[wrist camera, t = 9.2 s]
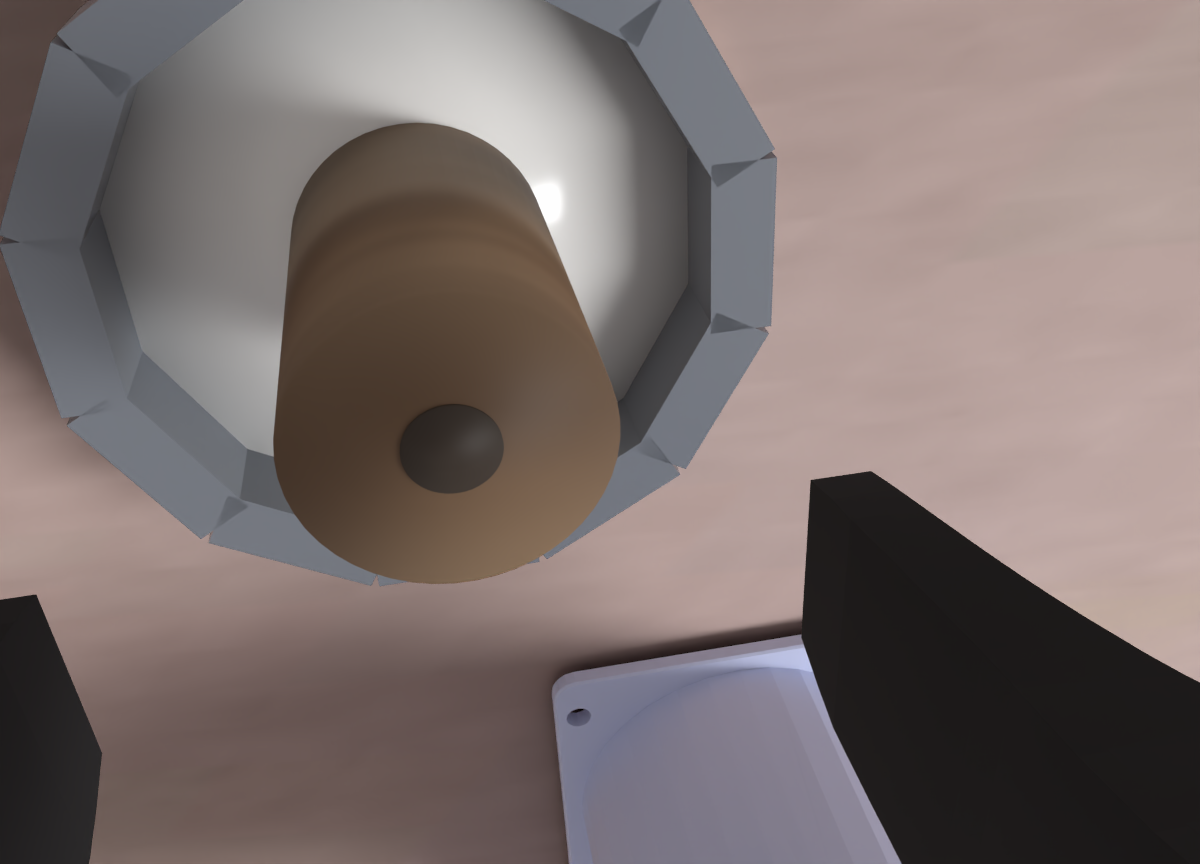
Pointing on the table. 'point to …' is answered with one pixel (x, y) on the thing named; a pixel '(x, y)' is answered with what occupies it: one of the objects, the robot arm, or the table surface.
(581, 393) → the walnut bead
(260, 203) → the ring dish
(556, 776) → the table surface
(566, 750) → the robot arm
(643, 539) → the table surface
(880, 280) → the table surface
